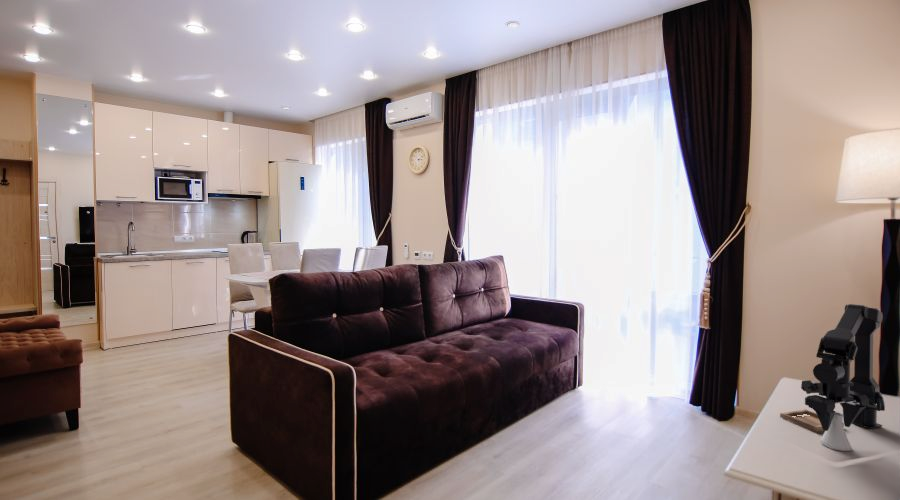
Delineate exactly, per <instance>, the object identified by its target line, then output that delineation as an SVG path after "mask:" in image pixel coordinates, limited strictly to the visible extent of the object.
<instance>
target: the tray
mask: <svg viewBox="0 0 900 500" xmlns="http://www.w3.org/2000/svg"><path fill="white" fill-rule="evenodd" d="M803 414H807V415H810V416H804V417H802V416H797V415H803ZM792 416H796V417H795V418H794V417H792ZM779 417H780V418H781V417H782V419H783V418H784V419H783V420H786V419H787V421H788V420H789V422H790V421H791V422H790V423H792V422H793V424H795V425H798V426H800V427H802V428H804V429H806V430H807V431H808V430H809V431H811V432H812V433H815V434H822V433H825V430H823V428H822V426H821V423H820V420H819V418H818V415H817V413H816V412H815V411H814V412H813V411H811V410H807V409H800V410H795V411H787V412H781V413H779ZM842 423H843V427H844V426H845V425H844V421H842Z"/></svg>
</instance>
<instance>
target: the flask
mask: <svg viewBox="0 0 900 500" xmlns="http://www.w3.org/2000/svg"><path fill="white" fill-rule="evenodd" d="M843 417H844V415H843V413H842V412H838V411H835V414H834V417H833V419H832V422H831V425H830V427H829V429H828V431H825V432H823V434H822V436H821V438H820V440H819V441H820V443H821V445H823V446H824V447H827V448H830V449H831V450H837V451H841V452H847V451H848V452H849V451H850V452H851V451H853V449H852V445H851V443H850V441H849V439H848V437H847V434H846V431H845V428H844V426H843V423H844V422H843V419H844V418H843ZM842 422H843V423H842Z"/></svg>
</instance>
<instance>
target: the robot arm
mask: <svg viewBox="0 0 900 500" xmlns="http://www.w3.org/2000/svg"><path fill="white" fill-rule="evenodd" d="M883 317H884V316H883V312H882V311H881V310H879V309H878V308H874V307H868V306H865V304H853V303H851V304H850V303H849V304H846V305H844V313H843V314H842V315H841V318H840V320H839V322H838V323H837V325H836V327H835V328H834V329H831V330H827V331H826V333H825V334H824V335H823V337H821V338H820V341H819V345H818V349H817V353H816V355H815V356H816V358H818V359H821V362H820V363H817V364H816V365H815V366H814V367H813V369H812V374H813V376H814V378H815V379H816V380H817V382H815V381H814V382H812V381H811V380H801V387H800V389H801V390H802V391H804V392H805V393H806V394H807V396H805V397H804V405H806V406H808V408H810V409H812V410H813V411H814V413H817V415H818V418H819V420H820V423H821V426H822V428H823V430H825V431H828V429H829V427H830V425H831V422H832V419H833V417H834V414H835V412H836V410H835V409H836V404H837V405H838V404H839V405H840V406H841V408H842V414H843V415H844V417H843V418H842V419H843V423H844V426H845V427H846V428H850V427H851V425H852V424H854V425H856V426H860V427H863V428H866V429H868V430H869V429H875V428H882V427H883V425H882V424H880V423H877V417H878V415H877V413H878V412H882V411H885V410H886V405H885V400H884V397H883V395H882V393H881V391H880V385H879V384H878V382H877V381H876V379H874V374H873V373H874V334H875V333H876V332H877V330H878V329H879V328H881V323H882V322H883V319H884V318H883ZM852 361H854V365H853V366H854V367H853V371H854V376H853V377H852V378H851V363H852ZM811 394H813V395H811Z"/></svg>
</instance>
